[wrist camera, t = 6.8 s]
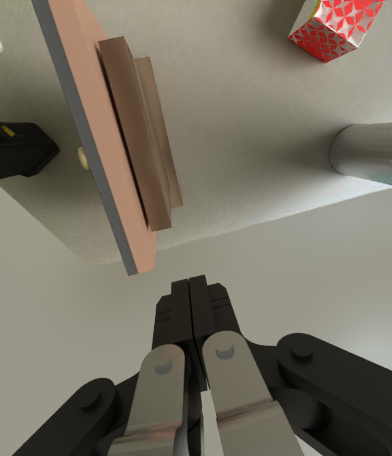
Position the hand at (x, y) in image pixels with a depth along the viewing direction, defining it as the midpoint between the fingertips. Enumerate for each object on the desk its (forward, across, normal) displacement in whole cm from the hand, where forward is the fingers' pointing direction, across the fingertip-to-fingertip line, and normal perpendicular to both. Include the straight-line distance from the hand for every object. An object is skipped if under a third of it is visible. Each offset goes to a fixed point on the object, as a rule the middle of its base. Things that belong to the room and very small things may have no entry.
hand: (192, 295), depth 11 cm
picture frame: (+27, +6, -7) cm, 29 cm away
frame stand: (+37, +5, -7) cm, 38 cm away
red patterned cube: (+38, -28, -18) cm, 51 cm away
